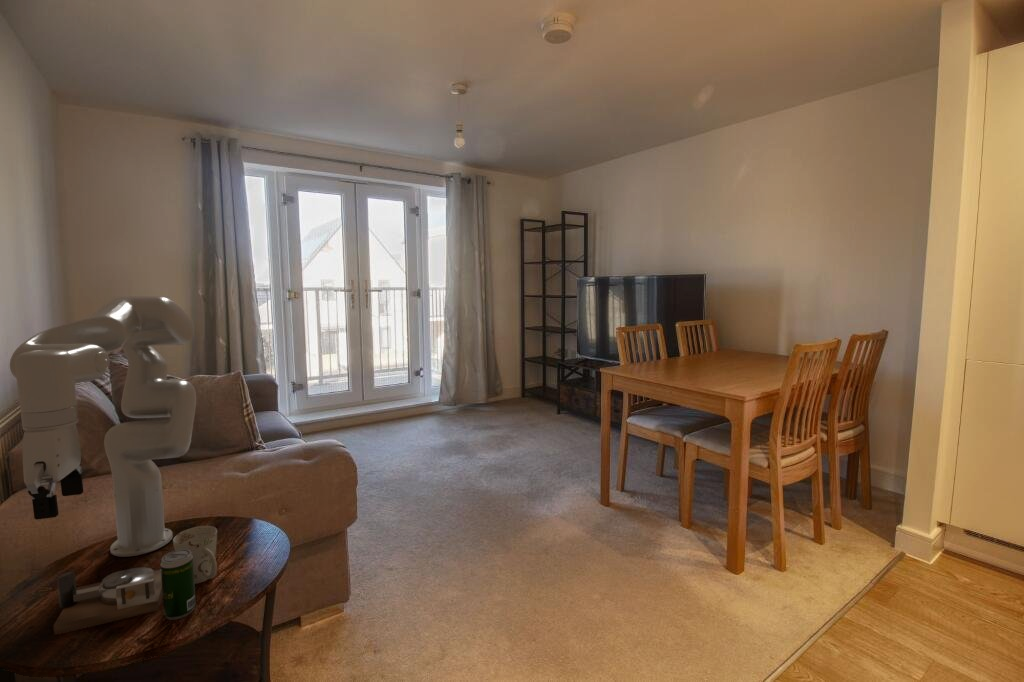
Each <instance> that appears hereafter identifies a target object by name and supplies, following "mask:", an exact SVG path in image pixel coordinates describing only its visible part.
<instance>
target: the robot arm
mask: <svg viewBox="0 0 1024 682" xmlns="http://www.w3.org/2000/svg"><path fill="white" fill-rule="evenodd" d="M194 324H195V323H194V321H193V319H192V317H191V316H190V315H189V314H188V313H187V312H186V311H185V310H184V309H183V308H182V307H181V306H180V305H178V303H176V302H175V301H173V300H172V299H170V298H168V297H164V296H143V295H142V296H138V295H137V296H132V295H131V296H127V295H126V296H119V297H115V298H113V299H111V300H110V301H108V302H107V303H106V304H104V305H103V306H102V307H101V308H99V309H98V310H97V311H95V312H94V313H92V314H91V315H90V316H89V317H87V318H83V319H79V320H75V321H71V322H69V323H66V324H65V323H64V324H61V325H58V326H55V327H51V328H48V329H46V330H43V331H40V332H38V333H35V334H34V335H33V336H31V337H29V338H28V339H27V340H24V342H23V343H21V344H20V345H19V346H18V347H17V348H16V349H15V350H14V351H13V353H12V355H11V358H10V361H9V369H10V372H11V374H12V376H13V377H14V378H15V379H16V384H17V393H18V400H19V402H18V403H19V410H20V417H21V418H20V419H21V426H22V430H23V431H24V432H23V438H22V471H23V480H24V481H23V482H24V485H25V486H26V488H27V493H28V495H30V496H29V498H30V500H31V503H32V510H33V516H34V517H33V519H34V520H37V521H38V520H43V519H44V520H45V519H51V518H56V517H58V516H59V514H60V513H59V505H58V497H57V494H55V490H56V485H57V483H59V482H60V490H61V496H62V497H70V496H71V497H72V496H78V495H82V494H83V493H84V484H83V474H82V472H83V467H82V466H81V465H82V462H83V459H82V447H81V444H80V437H79V436H80V435H79V432H78V431H79V430H78V428H77V423H79V411H78V402H77V392H76V384H79V383H87V382H92V381H95V380H97V379H99V378H101V377H102V376H103V375H105V373H107V372H108V369H109V367H110V362H111V361H110V357H109V354H108V352H112V351H115V350H117V349H119V348H121V349H122V350H123V353H124V356H125V357H126V360H127V373H126V376H125V381H124V386H123V390H122V396H121V401H120V402H121V405H120V408H121V412H122V414H123V415H124V416H126V417H128V418H132V419H152V418H153V419H154V418H156V419H157V418H169V419H160V420H138V421H126V422H121V423H118V424H116V425H114V426H112V427H111V428H109V430H108V431H107V432H106V433H105V435H104V440H103V446H104V447H103V448H104V451H105V454H106V456H107V457H106V458H107V460H108V463H109V466H110V471H111V477H112V487H113V500H114V511H115V513H114V514H115V521H116V522H115V524H116V534H117V539H116V540H115V541H114V542H113V543H112V544H111V545H110V549H109V550H110V554H111V555H113V556H116V557H120V558H123V557H124V558H126V557H135V556H141V555H145V554H148V553H152V552H154V551H156V550H159V549H160V548H162V547H164V546H166V545H167V544H168V543H170V542H171V540H173V538H174V537H173V536H174V535H173V531H172V530H171V529H170V528H166V527H165V515H164V512H165V511H164V499H163V498H164V497H163V488H162V475H161V470H160V469H159V467H158V465H156V463H155V462H154V461H153V460H160V459H161V460H162V459H174V458H180V457H181V456H182V457H183V456H184V455H185V454H187V453H188V451H189V449H190V446H191V443H192V437H193V436H192V435H193V429H194V422H195V416H196V410H197V409H196V408H197V392H196V389H195V387H194V385H193V384H192V383H191V382H190V381H187V380H183V379H168V378H167V377H168V371H169V366H168V363H167V361H166V360H165V359H164V357H163V356H162V355H161V354H160V353H159V352H158V351H157V350H156V349H155V348H154V347H153V346H157V347H158V346H182V345H187V344H189V343H190V342H191V341H193V338H194V337H195V331H196V330H195V325H194ZM46 485H47V486H48V487H47V488H46V487H45V486H46Z"/></svg>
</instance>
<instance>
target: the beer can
mask: <svg viewBox="0 0 1024 682" xmlns="http://www.w3.org/2000/svg"><path fill="white" fill-rule="evenodd" d="M159 566H160V570H161V581H162V594H163V597H162V605H163V615H164V616H165V618H166V619H167V620H171V621H176V620H181V619H183V618H185V617H188V616H190V615H191V614H192V613H193V612H194V610H195V607H196V606H197V602H196V601H197V599H196V586H195V585H196V584H195V582H194V567H193V555H192V554H191V551H190V550H188V549H180V550H175V549H174V550H173V551H170V552H168V553H166V554H164V555H163V556H162V557H161V561H160V565H159Z"/></svg>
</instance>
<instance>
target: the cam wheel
mask: <svg viewBox="0 0 1024 682" xmlns="http://www.w3.org/2000/svg"><path fill="white" fill-rule="evenodd" d="M154 571H155V570H154V569H152V568H151V567H145V566H144V567H134V568H130V569H129V568H128V569H124V570H119V571H114V572H112V573H110V574H108V575H106V576H105V577H104V578H103V579H102V580H101V582H102V583H101V584H100V586H96V587H91V588H86V589H82V590H77V591H76V587H77V585H76V584H77V583H76V573H75V572H74V571H67V572H64V573H61V574H59V575H57V576H56V582H57V584H56V585H57V593H58V594H57V595H58V603H59V608H60V609H64V608H67V607H70V606H72V605H74V604H76V603H77V601H80V600H84V599H89V598H93V597H98V596H100V601H101V602H102V603H104V604H109V605H113V604H117V597H116V587H117V586H121V585H125V584H130V583H134V582H139V581H144V580H148V579H153V578H154ZM154 581H155V579H154Z"/></svg>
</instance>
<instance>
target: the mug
mask: <svg viewBox="0 0 1024 682" xmlns="http://www.w3.org/2000/svg"><path fill="white" fill-rule="evenodd" d="M217 541H218V528H216V527H215V526H212V525H201V526H200V525H199V526H195V527H191V528H188V529H185V530H183V531H181V532H179V533H177V534H176V535H175V536H174V537H173V538H172V543H173V548H174V551H175V550H180V549H188V550H190V551H191V554H192V555H193V567H194V582H195V585H196V584H200V583H203V582H206V581H208V580H210V579H212V578H214V577H215V576H216V575H217V572H218V564H217V559H216V551H217Z"/></svg>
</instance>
